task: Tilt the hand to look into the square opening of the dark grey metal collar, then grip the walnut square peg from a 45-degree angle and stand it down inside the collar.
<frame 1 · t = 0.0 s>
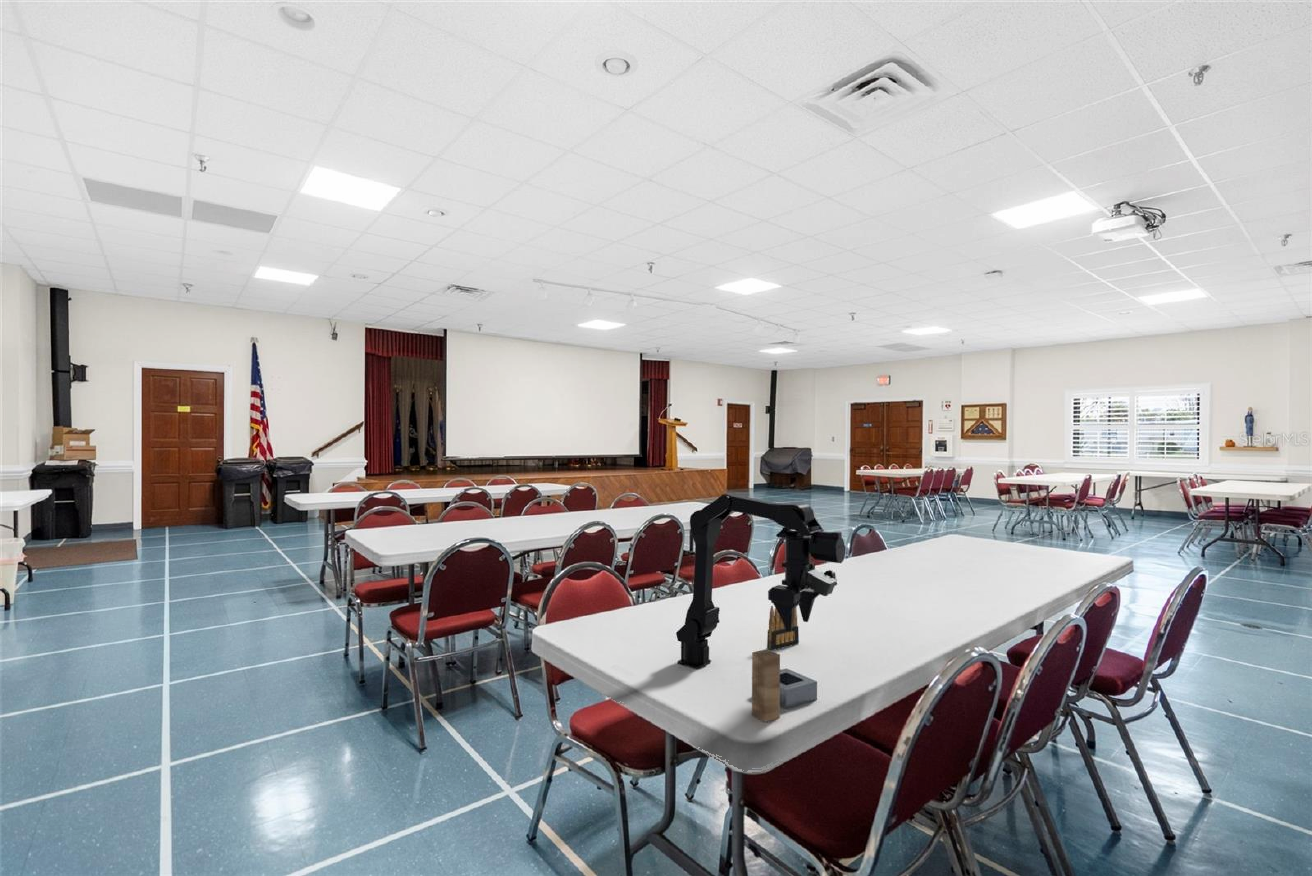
hand: (797, 626, 142), 15 cm above the table, tool pointing down, fingers open, 9 cm apart
ammunition clip: (783, 646, 173), on the table
square collar: (786, 696, 138), on the table
walnut peg: (765, 716, 127), on the table
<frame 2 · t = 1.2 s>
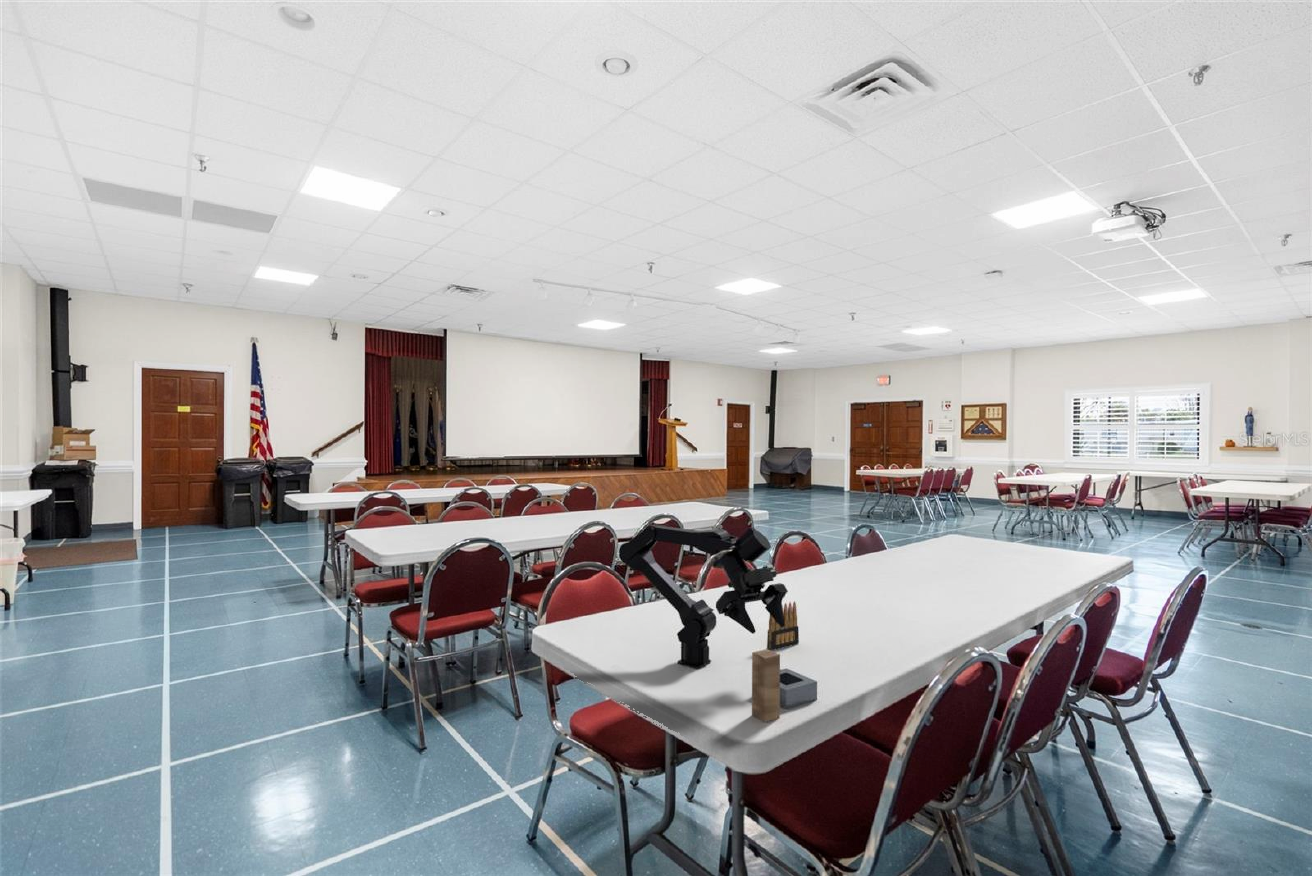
hand: (769, 629, 142), 14 cm above the table, tool tilted 45°, fingers open, 9 cm apart
nothing on the table moved.
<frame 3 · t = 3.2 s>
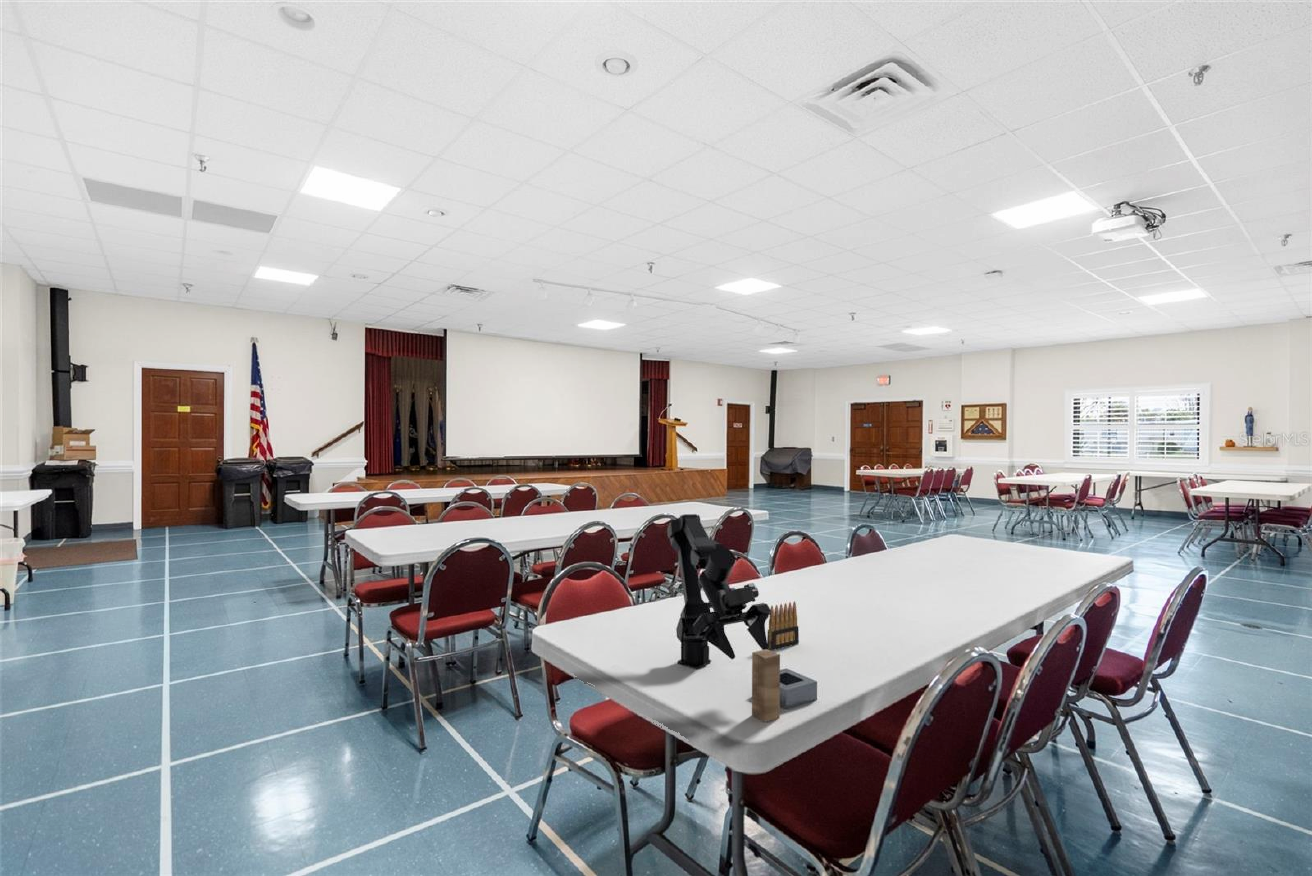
hand: (750, 654, 131), 11 cm above the table, tool tilted 45°, fingers open, 9 cm apart
nothing on the table moved.
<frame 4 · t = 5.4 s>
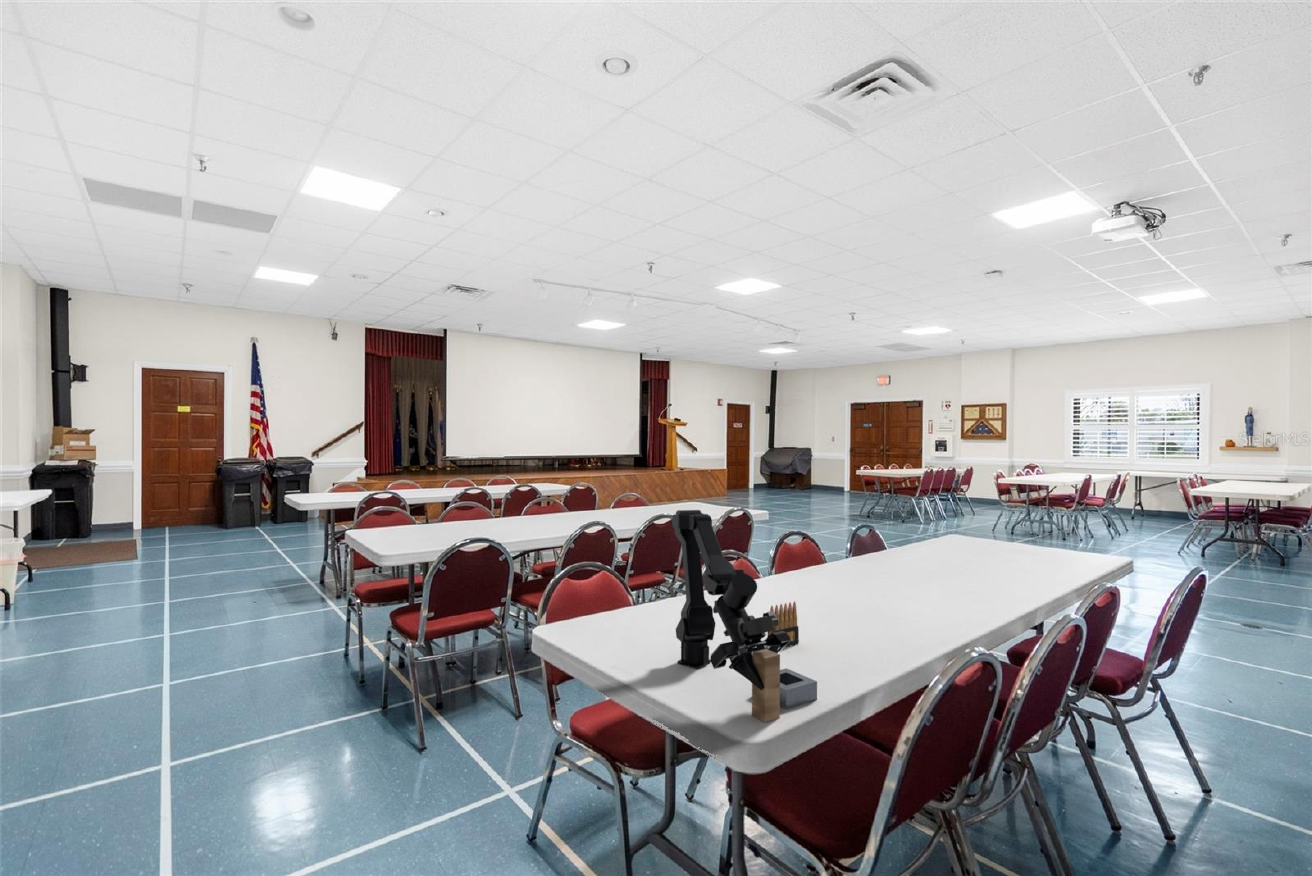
hand: (770, 686, 126), 7 cm above the table, tool tilted 45°, fingers closed on walnut peg, 4 cm apart
walnut peg: (765, 716, 127), on the table, touching gripper
everything else where it was.
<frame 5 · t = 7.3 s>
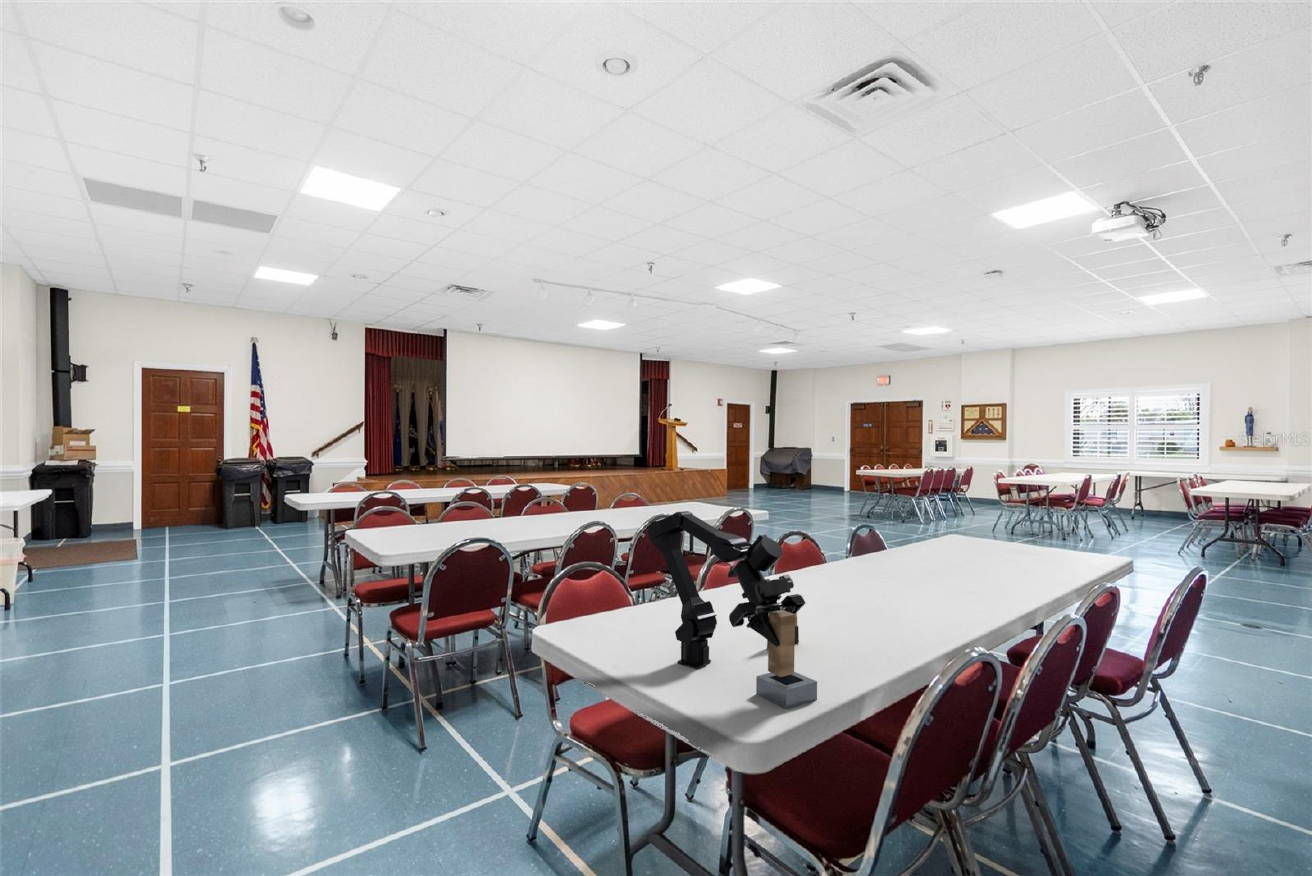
hand: (785, 644, 134), 13 cm above the table, tool tilted 45°, fingers closed on walnut peg, 4 cm apart
walnut peg: (781, 672, 135), point 6 cm above the table, touching gripper
everything else where it was.
when the fingers open (8 cm above the table, at t = 9.4 s): walnut peg drops 1 cm, resting in square collar.
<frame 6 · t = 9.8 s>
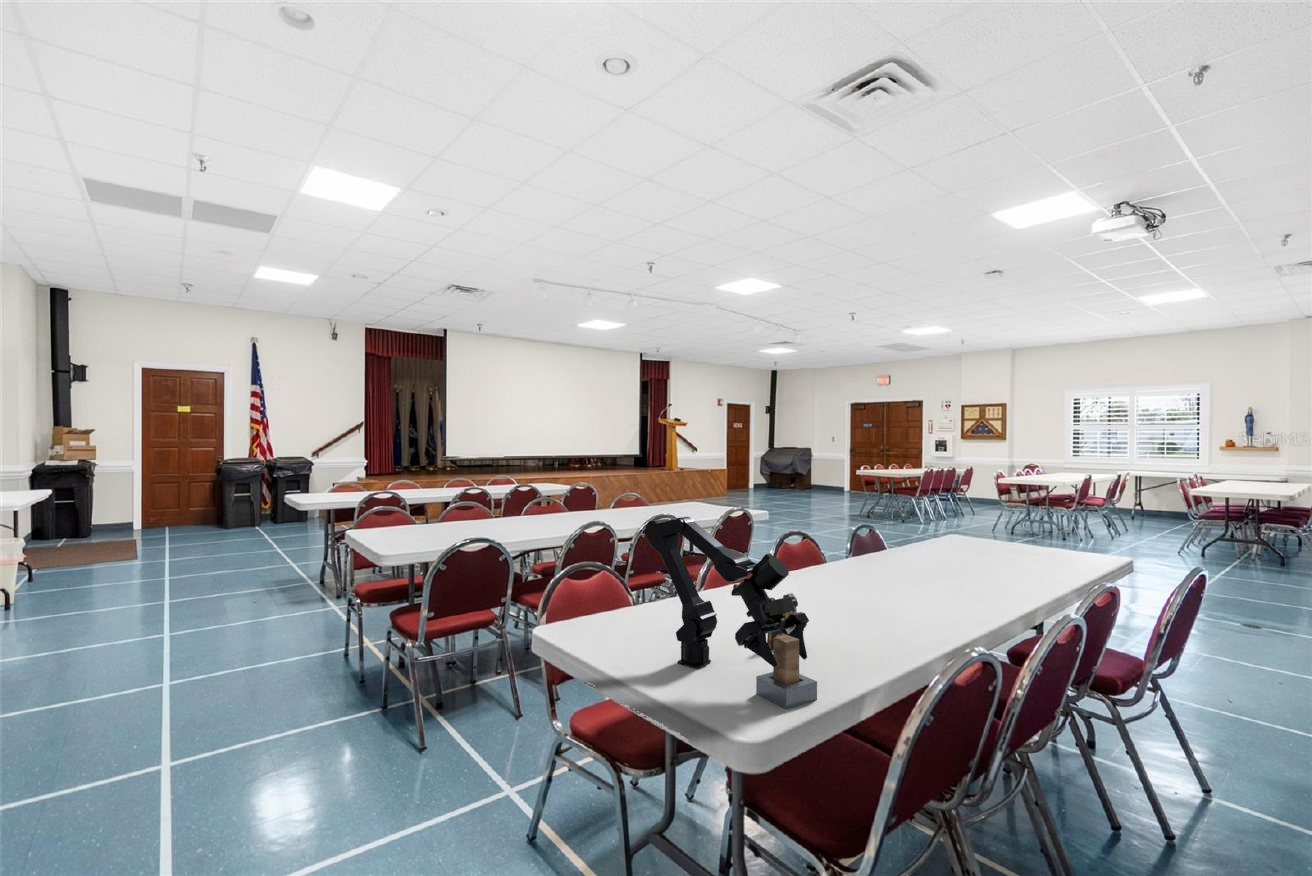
hand: (791, 662, 136), 8 cm above the table, tool tilted 45°, fingers open, 9 cm apart
walnut peg: (786, 696, 137), resting in square collar
everything else where it was.
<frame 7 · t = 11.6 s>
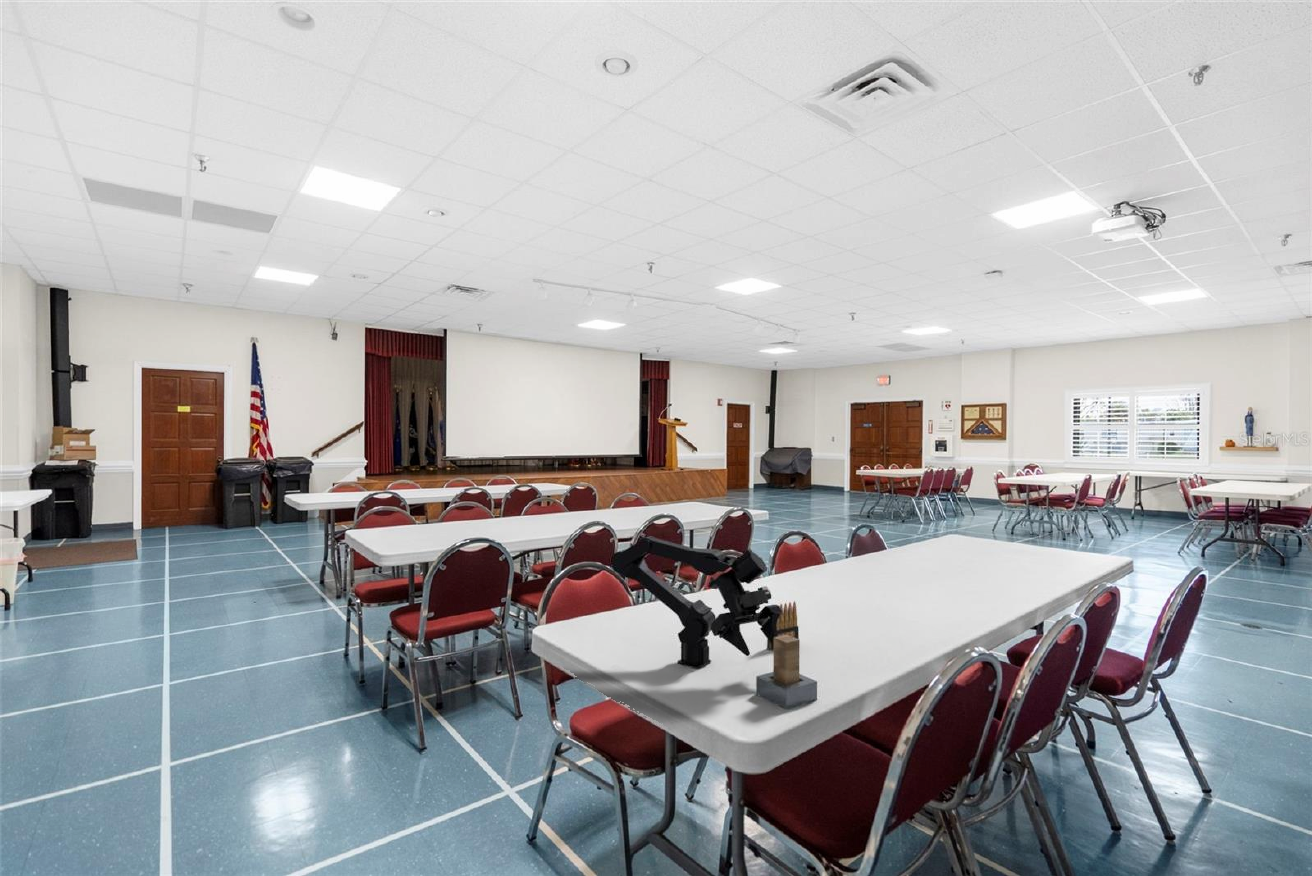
hand: (763, 651, 144), 8 cm above the table, tool tilted 45°, fingers open, 9 cm apart
nothing on the table moved.
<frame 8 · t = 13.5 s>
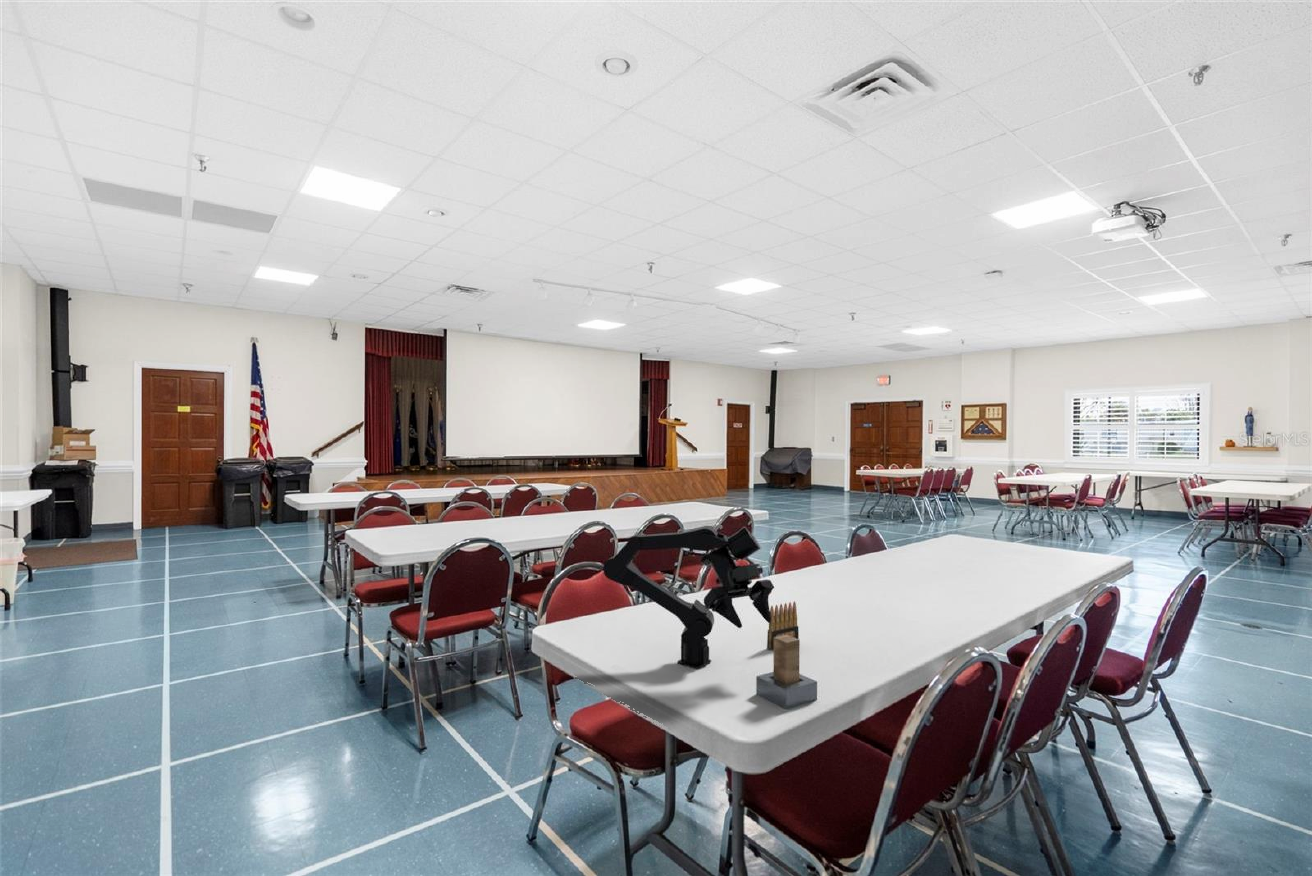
hand: (755, 624, 146), 14 cm above the table, tool tilted 45°, fingers open, 9 cm apart
nothing on the table moved.
at the end: walnut peg 0.1 cm off-centre on the square collar, point 0.0 cm above the square collar's base; walnut peg tilted 0°; the gripper is holding nothing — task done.
